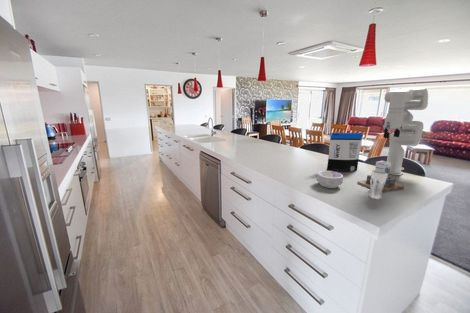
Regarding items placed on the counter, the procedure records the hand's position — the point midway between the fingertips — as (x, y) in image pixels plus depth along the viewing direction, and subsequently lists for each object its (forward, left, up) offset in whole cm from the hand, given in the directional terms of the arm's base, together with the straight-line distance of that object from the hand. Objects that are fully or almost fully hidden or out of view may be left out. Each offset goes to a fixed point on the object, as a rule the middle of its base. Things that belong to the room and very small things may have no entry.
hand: (391, 137), depth 139 cm
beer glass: (+33, +19, -30) cm, 48 cm away
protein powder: (+8, -28, -30) cm, 42 cm away
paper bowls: (+44, -4, -30) cm, 53 cm away
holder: (+13, +7, -30) cm, 33 cm away
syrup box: (+12, +6, -29) cm, 32 cm away
